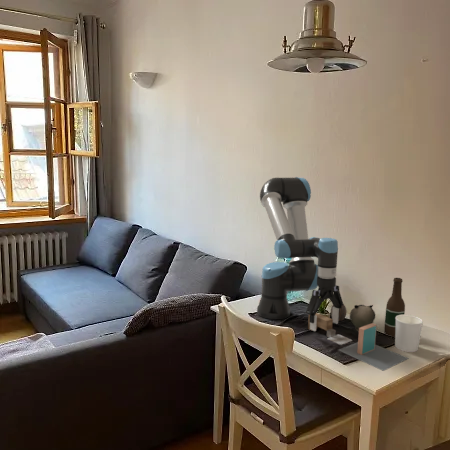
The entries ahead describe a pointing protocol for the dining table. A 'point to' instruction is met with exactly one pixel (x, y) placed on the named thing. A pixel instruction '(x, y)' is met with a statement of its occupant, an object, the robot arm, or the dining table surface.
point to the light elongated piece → (329, 329)
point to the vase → (341, 312)
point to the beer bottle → (394, 308)
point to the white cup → (407, 332)
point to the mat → (375, 356)
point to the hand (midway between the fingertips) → (324, 326)
